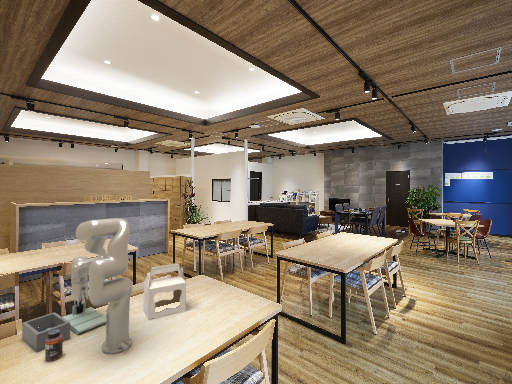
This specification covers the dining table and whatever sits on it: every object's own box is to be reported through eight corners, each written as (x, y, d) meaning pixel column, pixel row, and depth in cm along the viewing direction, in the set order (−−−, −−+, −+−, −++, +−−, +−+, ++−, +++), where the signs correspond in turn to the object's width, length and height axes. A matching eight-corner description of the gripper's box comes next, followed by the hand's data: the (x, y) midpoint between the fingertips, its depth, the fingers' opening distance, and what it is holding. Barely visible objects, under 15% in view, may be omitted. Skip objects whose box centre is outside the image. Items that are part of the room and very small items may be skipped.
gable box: (147, 320, 145) (148, 270, 144) (142, 311, 155) (143, 264, 155) (186, 310, 157) (187, 264, 157) (179, 302, 168) (180, 259, 168)
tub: (69, 338, 125) (70, 322, 125) (36, 352, 114) (36, 334, 114) (54, 327, 135) (54, 312, 135) (22, 339, 124) (22, 322, 124)
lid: (108, 323, 141) (109, 310, 140) (78, 335, 128) (79, 321, 128) (91, 310, 151) (91, 298, 151) (61, 321, 139) (62, 308, 138)
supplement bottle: (60, 351, 116) (60, 326, 116) (64, 357, 112) (64, 331, 112) (43, 357, 111) (43, 331, 111) (46, 363, 107) (47, 336, 107)
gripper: (93, 280, 143) (93, 313, 143) (80, 274, 151) (79, 306, 151) (78, 284, 136) (77, 319, 136) (65, 278, 145) (64, 311, 145)
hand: (78, 312), depth 144 cm, fingers closed
